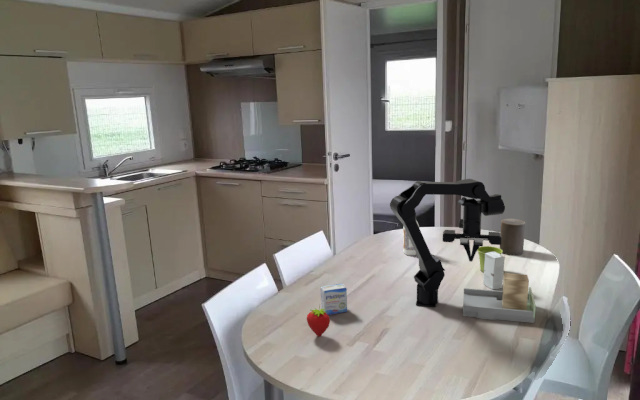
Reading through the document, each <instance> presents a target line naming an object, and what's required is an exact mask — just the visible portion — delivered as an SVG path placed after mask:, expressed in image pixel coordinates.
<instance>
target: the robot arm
mask: <svg viewBox="0 0 640 400" xmlns="http://www.w3.org/2000/svg"><path fill="white" fill-rule="evenodd" d="M484 184H485V183H483V182H481V181H479V180H476V179H473V178H465V179H460V180H458V181H422V180H417V181H416V182H413V184H412V185H411V186H409V187H408V188H406V189H405V190H403V191H402V192H400V193H399V194H398V195H395V196H394V197H393V198H392V199H391V201H390V203H389V207H390V210H391V211H392V213H393V214H394V215H395V217H396V218H397V219H398V220H399V221H400V222H401V224H402V225H403V226H404V228H405V230H406V232H407V234H408V236H409V239H410V241H411V243H412V245H413V247H414V249H415V251H416V254H417V255H416V256H417V258H418V268H419V270H418V271H417V272H416V274H415V275H413V279H414V282H415V283H417V284H416V300H415V301H416V302H415V305H416V306H420V307H430V308H431V307H432V308H435V307H436V306H437V304H438V302H439V289H440V286H441V284H442V281H443V279H444V278H445V271H446V269H445V268H444V267H443V264H442V261H441V259H439V258H438V257H436V256H435V255H434V254H432V253H431V251H430V249H429V247H428V245H427V243H426V239H425V237H424V236H423V234H422V231H421V229H420V226H419V227H418V224H419V223H418V224H417V222H418V221H417V222H416V220H417V212H416V208H417V207H418V206H419V205H420V204H421V202H422V200H423V199H424V197H425V196H426V195H427V196H428V195H433V196H434V195H438V196H440V195H443V196H444V195H445V196H448V195H449V196H455V195H457V196H461V199H459V200H458V201H457V204H458V205H460V206H462V207H463V211H462V212H463V214H462V215H463V218H459V219H458V221H459V222H458V228H459V229H462V233H458V232H457V233H456V230H455V229H444V230H443V231H442V242H444V243H453V242H454V241H455V240H459V245H460V246H463V248H464V251H466V252H465V253H466V255H467V258H468V261H469V262H473V261H474V258H475V256H476V254H477V252H478V251H477V250H478V248H479V247H482V246H484V241H488V243H489V244H490V245H491V246H492V245H494V246H496V245H497V246H500V245H501V241H502V237H501V234H500V231H496V232H495V231H488V234H481V233H482V215H483V216H485V217H487V216H497V215H498V216H499V215H503V214H504V212H505V210H506V206H505V203H504V200H503V199H502V194H498V193H497V194H493V195H492V194H491V195H490V194H488V192H487V191H486V186H485V185H484ZM471 240H472V241H473V242H472V249H471V245H470V244H471V242H470V241H471Z"/></svg>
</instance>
